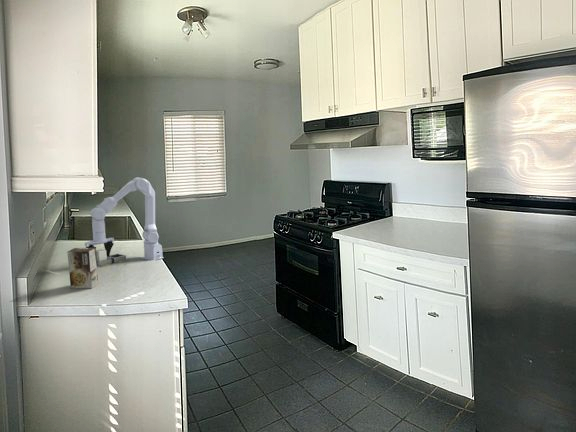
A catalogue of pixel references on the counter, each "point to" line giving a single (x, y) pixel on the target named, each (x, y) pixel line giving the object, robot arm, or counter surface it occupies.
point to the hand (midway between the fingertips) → (100, 258)
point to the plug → (101, 255)
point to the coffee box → (82, 267)
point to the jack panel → (112, 260)
